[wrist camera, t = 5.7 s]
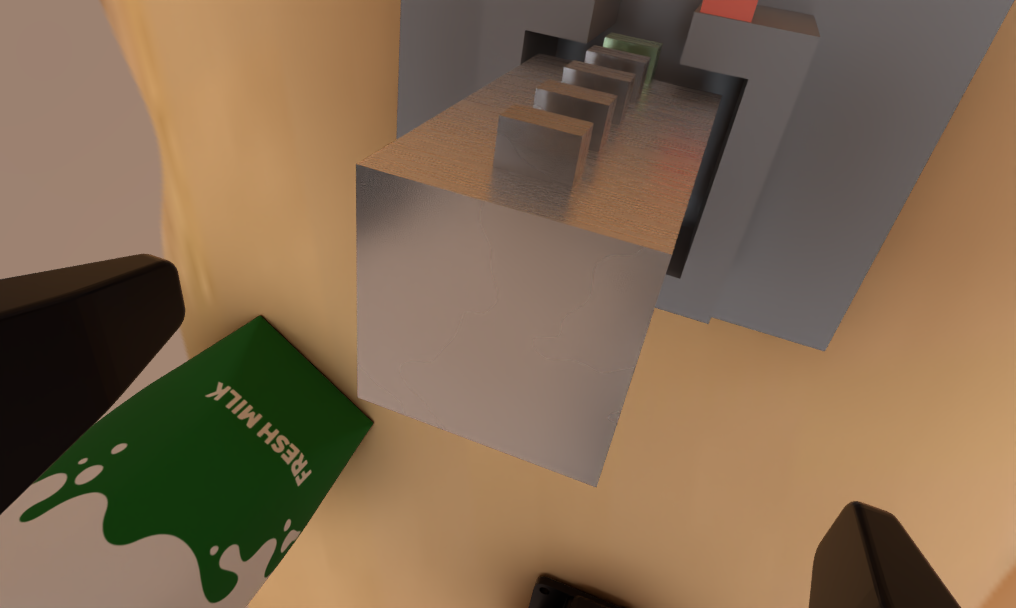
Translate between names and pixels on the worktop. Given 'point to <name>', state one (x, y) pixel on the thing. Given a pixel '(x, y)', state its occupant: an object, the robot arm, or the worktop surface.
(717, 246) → the stand
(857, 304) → the worktop surface
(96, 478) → the milk carton
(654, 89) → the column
